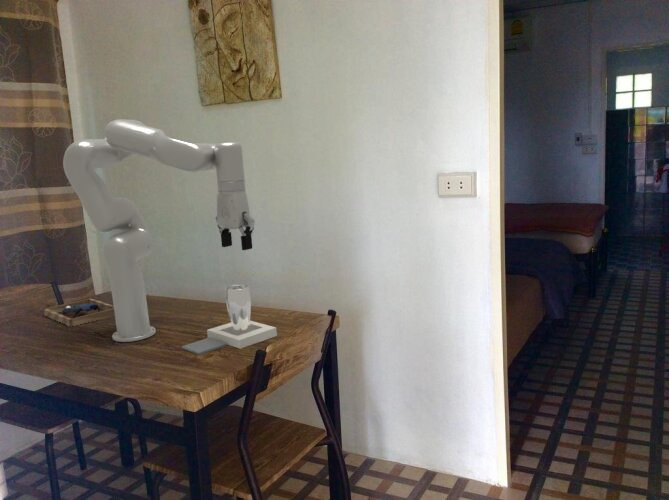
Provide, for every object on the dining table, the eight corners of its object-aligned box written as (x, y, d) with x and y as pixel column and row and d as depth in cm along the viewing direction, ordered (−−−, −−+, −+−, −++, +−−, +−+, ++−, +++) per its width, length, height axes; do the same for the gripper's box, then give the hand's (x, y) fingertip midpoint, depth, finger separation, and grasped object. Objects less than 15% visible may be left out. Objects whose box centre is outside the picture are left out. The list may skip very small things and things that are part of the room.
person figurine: (55, 322, 214) (85, 320, 203) (52, 310, 213) (81, 307, 203) (82, 313, 223) (112, 311, 212) (80, 301, 222) (109, 299, 212)
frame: (44, 315, 216) (43, 309, 215) (91, 304, 227) (90, 298, 227) (70, 327, 199) (69, 320, 198) (120, 314, 210) (119, 307, 210)
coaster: (181, 348, 170) (181, 346, 170) (209, 339, 176) (209, 337, 176) (199, 354, 163) (198, 352, 163) (227, 345, 169) (226, 343, 169)
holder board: (207, 338, 177) (206, 329, 177) (244, 326, 186) (243, 318, 186) (240, 348, 166) (239, 340, 165) (276, 335, 175) (276, 327, 174)
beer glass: (249, 341, 172) (244, 289, 169) (226, 341, 173) (221, 290, 171) (257, 333, 179) (252, 283, 176) (235, 333, 180) (230, 284, 177)
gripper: (203, 188, 172) (208, 247, 175) (238, 189, 160) (244, 253, 163) (225, 185, 177) (230, 243, 180) (261, 186, 165) (266, 248, 168)
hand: (237, 247), depth 172 cm, fingers open, 9 cm apart
